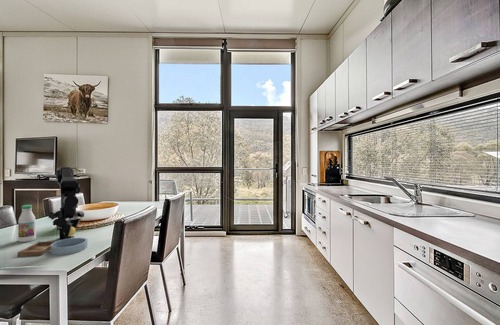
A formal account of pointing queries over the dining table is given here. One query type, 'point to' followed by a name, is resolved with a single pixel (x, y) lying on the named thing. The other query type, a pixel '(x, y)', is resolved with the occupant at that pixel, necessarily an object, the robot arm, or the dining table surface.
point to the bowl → (68, 246)
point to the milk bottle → (26, 225)
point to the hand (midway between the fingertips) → (69, 234)
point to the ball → (72, 231)
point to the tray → (36, 249)
